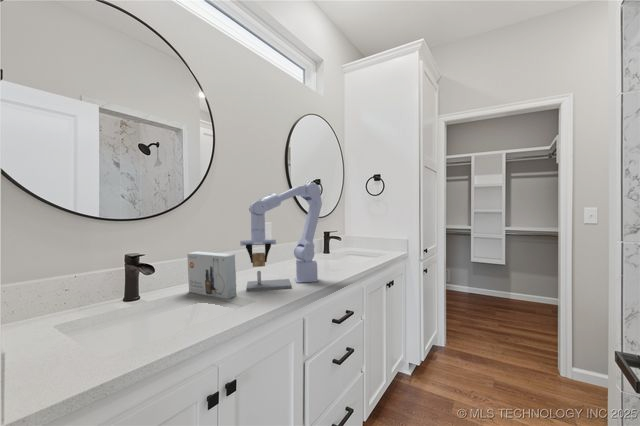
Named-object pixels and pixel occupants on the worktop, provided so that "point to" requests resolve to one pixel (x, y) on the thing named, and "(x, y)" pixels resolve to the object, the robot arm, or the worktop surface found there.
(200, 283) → the skincare box
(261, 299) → the worktop surface
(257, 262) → the oak bead
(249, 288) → the grey flat block
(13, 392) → the worktop surface
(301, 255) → the robot arm
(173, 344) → the worktop surface
